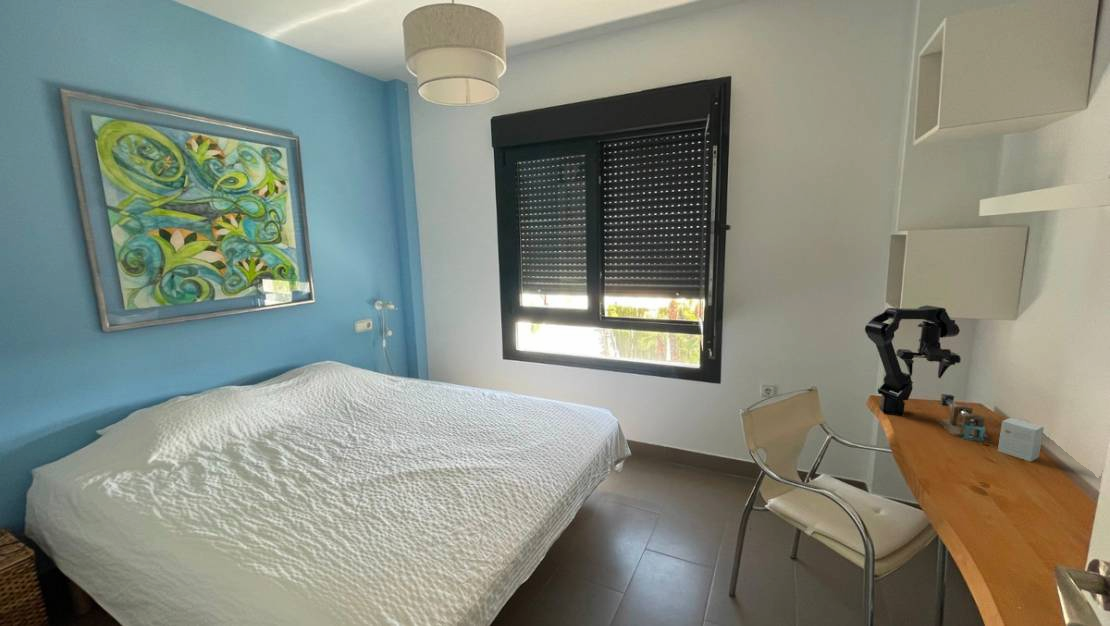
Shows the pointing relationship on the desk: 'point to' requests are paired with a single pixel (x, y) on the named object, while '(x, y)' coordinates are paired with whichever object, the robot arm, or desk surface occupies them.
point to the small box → (1020, 439)
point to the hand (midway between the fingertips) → (924, 376)
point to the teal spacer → (979, 438)
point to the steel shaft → (948, 401)
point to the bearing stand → (962, 422)
